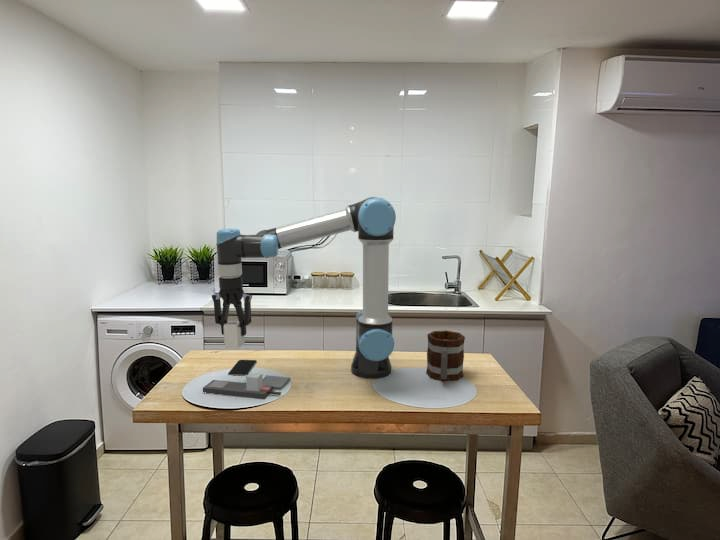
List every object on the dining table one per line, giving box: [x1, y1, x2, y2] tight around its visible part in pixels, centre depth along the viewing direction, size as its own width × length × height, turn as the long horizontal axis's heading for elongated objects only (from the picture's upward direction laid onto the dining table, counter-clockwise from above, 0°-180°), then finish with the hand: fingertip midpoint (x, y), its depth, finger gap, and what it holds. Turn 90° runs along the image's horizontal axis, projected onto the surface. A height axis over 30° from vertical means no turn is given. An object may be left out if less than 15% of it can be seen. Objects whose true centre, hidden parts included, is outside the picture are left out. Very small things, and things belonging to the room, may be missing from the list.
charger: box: [223, 320, 242, 349], centre depth 167 cm, size 4×4×8 cm
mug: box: [425, 330, 466, 383], centre depth 180 cm, size 20×14×15 cm
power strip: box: [202, 379, 282, 400], centre depth 167 cm, size 26×7×2 cm, turn 78°
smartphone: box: [227, 359, 258, 377], centre depth 189 cm, size 7×1×15 cm
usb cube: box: [245, 371, 264, 391], centre depth 166 cm, size 4×4×4 cm
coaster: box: [262, 375, 291, 391], centre depth 174 cm, size 9×9×1 cm
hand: (234, 344), depth 168 cm, fingers closed on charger, 4 cm apart
